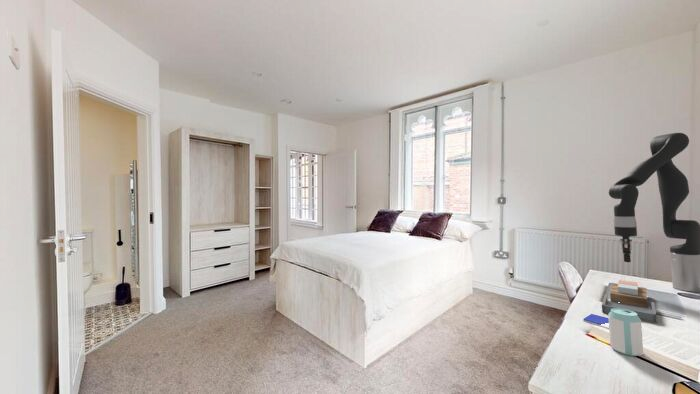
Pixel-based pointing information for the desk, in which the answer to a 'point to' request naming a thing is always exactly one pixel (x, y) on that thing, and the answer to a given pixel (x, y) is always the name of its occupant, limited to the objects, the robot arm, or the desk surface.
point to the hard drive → (596, 319)
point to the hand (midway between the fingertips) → (627, 261)
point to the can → (625, 332)
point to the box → (631, 309)
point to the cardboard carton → (629, 296)
